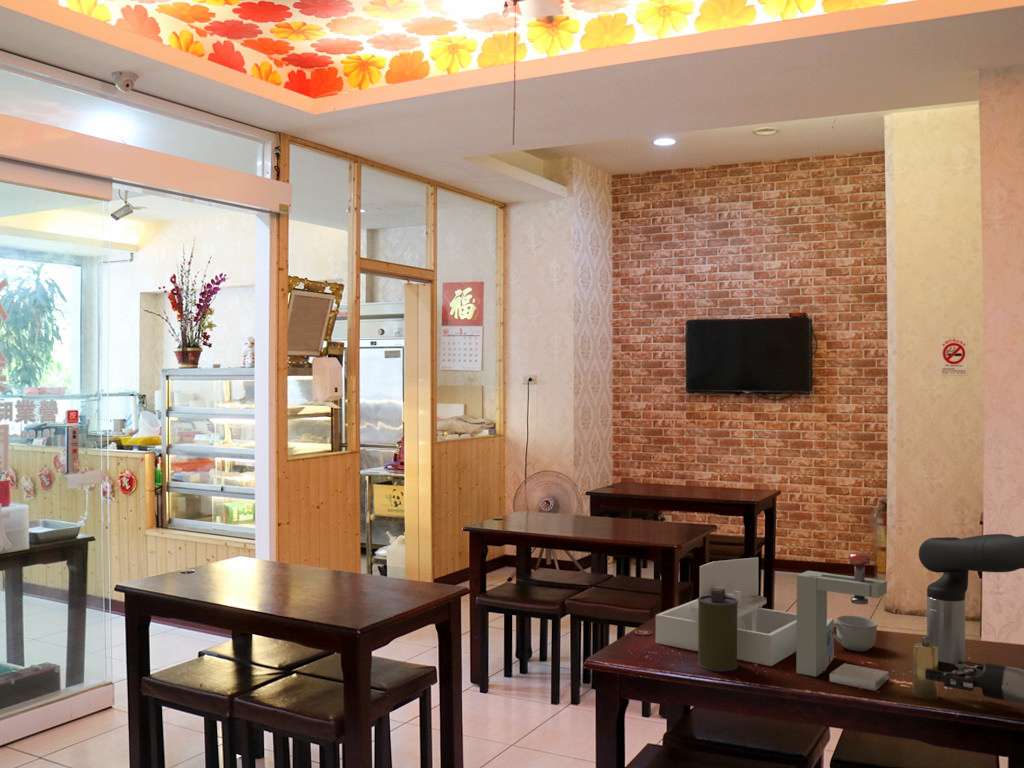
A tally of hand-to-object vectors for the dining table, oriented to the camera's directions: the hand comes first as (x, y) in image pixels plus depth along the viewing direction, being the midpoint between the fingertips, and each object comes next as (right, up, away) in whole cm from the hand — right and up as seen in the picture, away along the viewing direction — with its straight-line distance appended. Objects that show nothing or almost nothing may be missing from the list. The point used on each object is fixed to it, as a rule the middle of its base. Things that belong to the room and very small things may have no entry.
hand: (930, 669), depth 213 cm
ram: (-12, +13, +12) cm, 22 cm away
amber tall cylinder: (-1, -7, +1) cm, 7 cm away
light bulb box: (-17, -7, +29) cm, 34 cm away
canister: (-45, -7, +24) cm, 51 cm away
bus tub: (-36, -7, +45) cm, 58 cm away
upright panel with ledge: (-36, -7, +45) cm, 58 cm away
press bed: (-12, -7, +12) cm, 18 cm away
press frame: (-16, -7, +15) cm, 23 cm away
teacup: (-3, -7, +41) cm, 42 cm away
